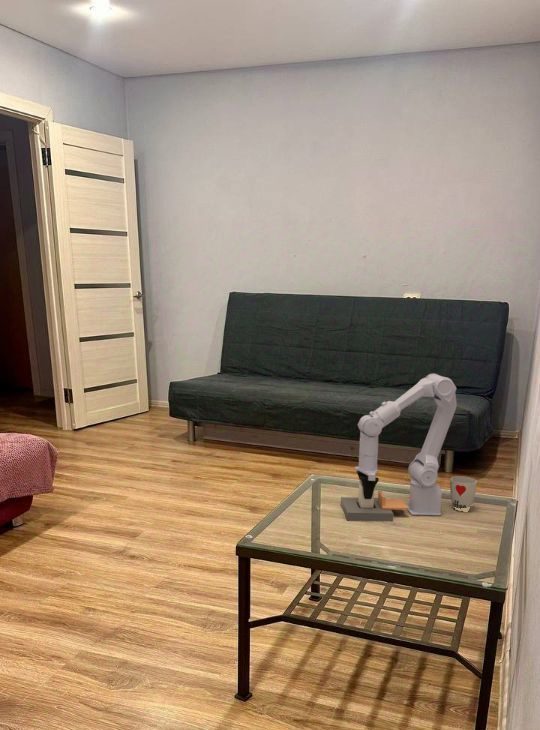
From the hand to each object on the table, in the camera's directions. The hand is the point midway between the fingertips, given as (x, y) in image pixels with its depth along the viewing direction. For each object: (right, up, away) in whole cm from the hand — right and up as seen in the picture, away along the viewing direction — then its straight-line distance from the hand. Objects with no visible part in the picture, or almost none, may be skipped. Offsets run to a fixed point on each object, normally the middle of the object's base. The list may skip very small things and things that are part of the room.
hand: (366, 496), depth 187 cm
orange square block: (+8, -3, +1) cm, 9 cm away
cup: (+32, -6, +5) cm, 33 cm away
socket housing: (0, -5, +1) cm, 5 cm away
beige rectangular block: (0, -3, 0) cm, 3 cm away
